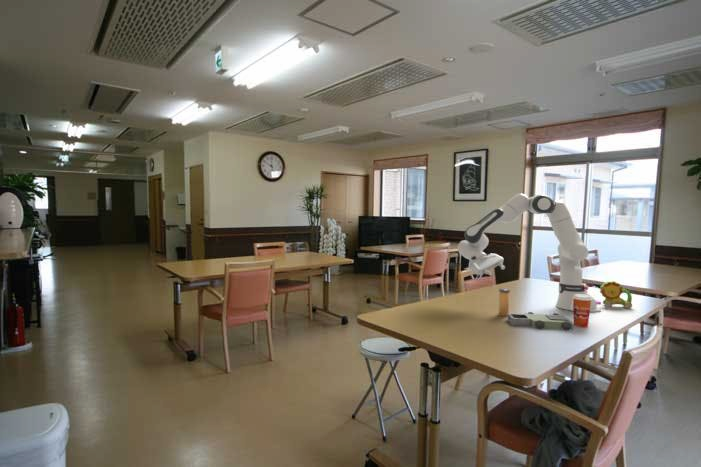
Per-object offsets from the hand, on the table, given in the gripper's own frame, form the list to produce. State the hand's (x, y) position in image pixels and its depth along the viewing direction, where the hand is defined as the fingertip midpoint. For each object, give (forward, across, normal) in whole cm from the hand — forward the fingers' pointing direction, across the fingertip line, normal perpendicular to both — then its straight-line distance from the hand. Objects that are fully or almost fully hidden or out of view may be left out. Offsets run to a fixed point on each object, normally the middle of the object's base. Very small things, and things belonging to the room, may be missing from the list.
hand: (498, 271), depth 217 cm
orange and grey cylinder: (+16, +10, -15) cm, 24 cm away
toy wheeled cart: (+37, +4, -7) cm, 38 cm away
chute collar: (+28, +15, -8) cm, 33 cm away
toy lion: (+39, -62, -29) cm, 78 cm away
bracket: (+26, -60, -34) cm, 74 cm away
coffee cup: (+46, -10, -8) cm, 47 cm away
